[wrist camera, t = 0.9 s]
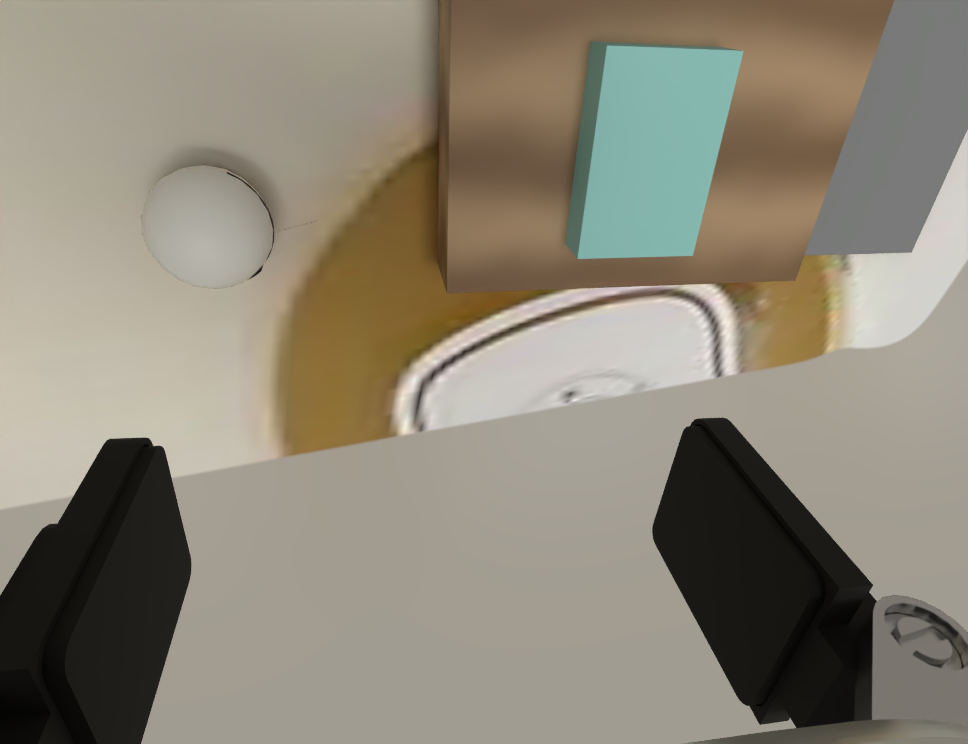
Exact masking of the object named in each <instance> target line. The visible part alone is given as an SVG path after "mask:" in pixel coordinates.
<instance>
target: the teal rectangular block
mask: <svg viewBox="0 0 968 744" xmlns="http://www.w3.org/2000/svg"><path fill="white" fill-rule="evenodd" d="M743 52H744V51H742V50H736V49H730V48H725V47H717V46H693V45H668V44H643V43H618V42H594V41H591V42H590V50H589V58H588V66H587V74H586V82H585V90H584V98H583V106H582V114H581V122H580V130H579V138H578V146H577V154H576V162H575V170H574V178H573V186H572V194H571V202H570V210H569V218H568V226H567V234H566V242H565V244H566V245H567V247H568V248H569V249H570V250H571V252H572V253H573V254H574V255H575V256H576V258H577V259H595V258H631V257H668V256H693V253H694V249H695V245H696V241H697V237H698V233H699V229H700V225H701V221H702V217H703V213H704V209H705V205H706V201H707V197H708V193H709V189H710V185H711V181H712V177H713V173H714V169H715V165H716V160H717V156H718V152H719V148H720V144H721V140H722V136H723V132H724V128H725V124H726V120H727V116H728V112H729V108H730V104H731V100H732V96H733V92H734V88H735V84H736V80H737V76H738V72H739V68H740V64H741V60H742V56H743Z"/></svg>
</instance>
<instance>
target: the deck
mask: <svg viewBox="0 0 968 744" xmlns="http://www.w3.org/2000/svg"><path fill="white" fill-rule="evenodd" d="M893 3H894V0H439V111H438V265H439V269H440V272H441V275H442V278H443V282H444V285H445V288H446V292H447V293H467V292H494V291H522V290H549V289H577V288H604V287H631V286H659V285H686V284H714V283H741V282H768V281H795V280H796V277H797V274H798V271H799V268H800V266H801V263H802V260H803V257H804V254H805V251H806V249H807V246H808V243H809V240H810V237H811V234H812V232H813V229H814V226H815V223H816V220H817V218H818V215H819V212H820V209H821V206H822V203H823V201H824V198H825V195H826V192H827V189H828V186H829V184H830V181H831V178H832V175H833V172H834V169H835V167H836V164H837V161H838V158H839V155H840V153H841V150H842V147H843V144H844V141H845V138H846V136H847V133H848V130H849V127H850V124H851V121H852V119H853V116H854V113H855V110H856V107H857V105H858V102H859V99H860V96H861V93H862V90H863V88H864V85H865V82H866V79H867V76H868V73H869V71H870V68H871V65H872V62H873V59H874V57H875V54H876V51H877V48H878V45H879V42H880V40H881V37H882V34H883V31H884V28H885V25H886V23H887V20H888V17H889V14H890V11H891V9H892V6H893ZM591 41H594V42H618V43H643V44H668V45H693V46H717V47H725V48H730V49H736V50H742V51H744V52H743V56H742V60H741V64H740V68H739V72H738V76H737V80H736V84H735V88H734V92H733V96H732V100H731V104H730V108H729V112H728V116H727V120H726V124H725V128H724V132H723V136H722V140H721V144H720V148H719V152H718V156H717V160H716V165H715V169H714V173H713V177H712V181H711V185H710V189H709V193H708V197H707V201H706V205H705V209H704V213H703V217H702V221H701V225H700V229H699V233H698V237H697V241H696V245H695V249H694V253H693V256H668V257H631V258H595V259H577V258H576V256H575V255H574V254H573V253H572V252H571V250H570V249H569V248H568V247H567V245H566V244H565V242H566V234H567V226H568V218H569V210H570V202H571V194H572V186H573V178H574V170H575V162H576V154H577V146H578V138H579V130H580V122H581V114H582V106H583V98H584V90H585V82H586V74H587V66H588V58H589V50H590V42H591Z"/></svg>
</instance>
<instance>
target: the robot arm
mask: <svg viewBox="0 0 968 744" xmlns="http://www.w3.org/2000/svg"><path fill="white" fill-rule="evenodd" d="M652 532H653V539H654V542H655V544H656V546H657V548H658V550H659V552H660V554H661V556H662V558H663V559H664V561H665V563H666V565H667V567H668V569H669V571H670V573H671V574H672V576H673V578H674V580H675V582H676V584H677V585H678V587H679V589H680V591H681V593H682V594H683V597H684V599H685V600H686V602H687V604H688V606H689V608H690V610H691V612H692V613H693V615H694V617H695V619H696V621H697V623H698V625H699V626H700V628H701V630H702V632H703V634H704V636H705V638H706V639H707V641H708V643H709V645H710V647H711V649H712V651H713V652H714V654H715V656H716V658H717V660H718V662H719V664H720V666H721V667H722V669H723V671H724V673H725V675H726V677H727V678H728V680H729V682H730V684H731V686H732V688H733V690H734V692H735V693H736V695H737V697H738V698H739V700H740V701H741V702H742V703H743V704H745V705H747V706H750V708H751V710H752V711H753V713H754V715H755V717H756V719H757V721H758V722H759V724H760V725H761V724H768V723H774V722H781V721H788V720H789V718H791V720H792V721H793V723H794V725H795V726H796V728H794V729H786V730H778V731H769V732H762V733H755V734H748V735H741V736H735V737H727V738H720V739H712V740H705V741H699V742H692V743H684V744H968V632H967V631H966V630H965V629H964V628H963V627H962V626H960V625H959V624H958V623H957V622H956V621H955V620H954V619H952V618H951V617H950V616H948V615H947V614H945V613H944V612H942V611H941V610H940V609H938V608H935V607H934V606H932V605H930V604H928V603H926V602H923V601H921V600H918V599H914V598H911V597H908V596H899V595H891V596H886V597H882V598H881V599H880V600H879V601H876V600H875V599H874V598H873V596H872V595H871V594H870V593H869V591H870V589H871V588H872V586H873V584H872V583H871V582H870V581H869V580H868V579H867V577H866V576H865V575H864V574H863V573H862V572H861V571H860V569H859V568H858V567H857V566H856V565H855V564H854V563H853V562H852V561H851V559H850V558H849V557H848V556H847V555H846V553H845V552H844V551H843V550H842V549H841V548H840V547H839V545H838V544H837V543H836V542H835V541H834V540H833V539H832V538H831V536H830V535H829V534H828V533H827V532H826V531H825V529H824V528H823V527H822V526H821V525H820V524H819V523H818V521H817V520H816V519H815V518H814V517H813V516H812V514H811V513H810V512H809V511H808V510H807V509H806V508H805V506H804V505H803V504H802V503H801V502H800V501H799V500H798V498H797V497H796V496H795V495H794V494H793V493H792V492H791V490H790V489H789V488H788V487H787V486H786V485H785V484H784V482H783V481H782V480H781V479H780V478H779V477H778V475H777V474H776V473H775V472H774V471H773V470H772V469H771V467H770V466H769V465H768V464H767V463H766V462H765V461H764V459H763V458H762V457H761V456H760V455H759V454H758V453H757V451H756V450H755V449H754V448H753V447H752V446H751V445H750V443H749V442H748V441H747V440H746V439H745V438H744V437H743V435H742V434H741V433H740V432H739V431H738V430H737V428H736V427H735V426H734V425H733V424H732V423H731V422H730V421H729V420H728V419H725V418H702V419H695V420H694V421H693V422H692V423H691V426H689V427H686V428H685V429H684V431H683V433H682V436H681V439H680V442H679V446H678V448H677V452H676V455H675V458H674V461H673V464H672V467H671V470H670V473H669V477H668V480H667V483H666V486H665V489H664V492H663V495H662V498H661V501H660V505H659V508H658V511H657V514H656V517H655V520H654V523H653V531H652ZM190 575H191V557H190V553H189V548H188V544H187V540H186V536H185V532H184V528H183V524H182V520H181V516H180V511H179V507H178V503H177V499H176V495H175V491H174V487H173V483H172V478H171V474H170V470H169V466H168V462H167V458H166V454H165V451H164V448H163V447H162V446H153V444H152V442H151V440H150V439H149V438H121V439H109V440H107V441H106V442H105V444H104V445H103V447H102V448H101V450H100V452H99V453H98V455H97V457H96V459H95V460H94V462H93V464H92V465H91V467H90V469H89V471H88V472H87V474H86V476H85V477H84V479H83V481H82V483H81V484H80V486H79V488H78V490H77V491H76V493H75V495H74V496H73V498H72V500H71V502H70V503H69V505H68V507H67V509H66V510H65V512H64V514H63V515H62V517H61V519H60V520H59V522H58V524H49V525H47V526H46V527H44V528H43V529H42V530H41V531H40V533H39V534H38V535H37V536H36V538H35V539H34V541H33V543H32V545H31V546H30V548H29V549H28V551H27V553H26V554H25V556H24V558H23V559H22V561H21V562H20V564H19V566H18V568H17V569H16V571H15V572H14V574H13V576H12V577H11V579H10V581H9V582H8V584H7V585H6V587H5V589H4V590H3V592H2V594H1V595H0V744H141V741H142V738H143V734H144V731H145V728H146V725H147V721H148V718H149V715H150V711H151V708H152V704H153V701H154V698H155V694H156V691H157V688H158V684H159V681H160V677H161V674H162V671H163V668H164V664H165V661H166V657H167V654H168V651H169V648H170V644H171V641H172V637H173V634H174V630H175V627H176V624H177V621H178V617H179V614H180V611H181V607H182V604H183V601H184V597H185V594H186V590H187V587H188V584H189V580H190Z"/></svg>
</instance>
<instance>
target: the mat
mask: <svg viewBox="0 0 968 744" xmlns="http://www.w3.org/2000/svg"><path fill="white" fill-rule="evenodd" d="M967 129H968V0H894V3H893V6H892V9H891V11H890V14H889V17H888V20H887V23H886V25H885V28H884V31H883V34H882V37H881V40H880V42H879V45H878V48H877V51H876V54H875V57H874V59H873V62H872V65H871V68H870V71H869V73H868V76H867V79H866V82H865V85H864V88H863V90H862V93H861V96H860V99H859V102H858V105H857V107H856V110H855V113H854V116H853V119H852V121H851V124H850V127H849V130H848V133H847V136H846V138H845V141H844V144H843V147H842V150H841V153H840V155H839V158H838V161H837V164H836V167H835V169H834V172H833V175H832V178H831V181H830V184H829V186H828V189H827V192H826V195H825V198H824V201H823V203H822V206H821V209H820V212H819V215H818V218H817V220H816V223H815V226H814V229H813V232H812V234H811V237H810V240H809V243H808V246H807V249H806V251H805V254H804V255H836V254H871V253H907V252H912V250H913V248H914V246H915V244H916V241H917V239H918V237H919V235H920V233H921V230H922V228H923V226H924V224H925V222H926V219H927V217H928V215H929V213H930V211H931V208H932V206H933V204H934V202H935V200H936V197H937V195H938V193H939V191H940V189H941V186H942V184H943V182H944V180H945V178H946V176H947V173H948V171H949V169H950V167H951V165H952V162H953V160H954V158H955V156H956V154H957V151H958V149H959V147H960V145H961V143H962V140H963V138H964V136H965V134H966V132H967Z"/></svg>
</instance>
